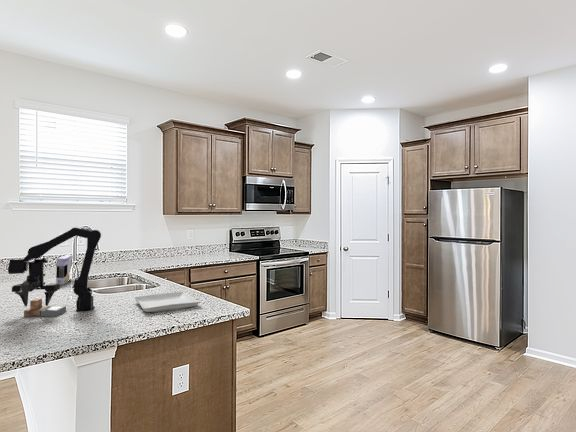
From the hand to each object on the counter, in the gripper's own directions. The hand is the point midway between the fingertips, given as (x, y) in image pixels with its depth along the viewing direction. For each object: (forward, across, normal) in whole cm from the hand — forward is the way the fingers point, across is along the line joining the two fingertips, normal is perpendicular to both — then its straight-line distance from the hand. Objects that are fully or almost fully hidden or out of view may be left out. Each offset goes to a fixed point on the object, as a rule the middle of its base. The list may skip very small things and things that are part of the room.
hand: (36, 305), depth 173 cm
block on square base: (+4, 0, 0) cm, 4 cm away
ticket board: (+4, +8, 0) cm, 9 cm away
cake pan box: (+4, -26, +78) cm, 82 cm away
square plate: (+4, +56, +13) cm, 58 cm away
